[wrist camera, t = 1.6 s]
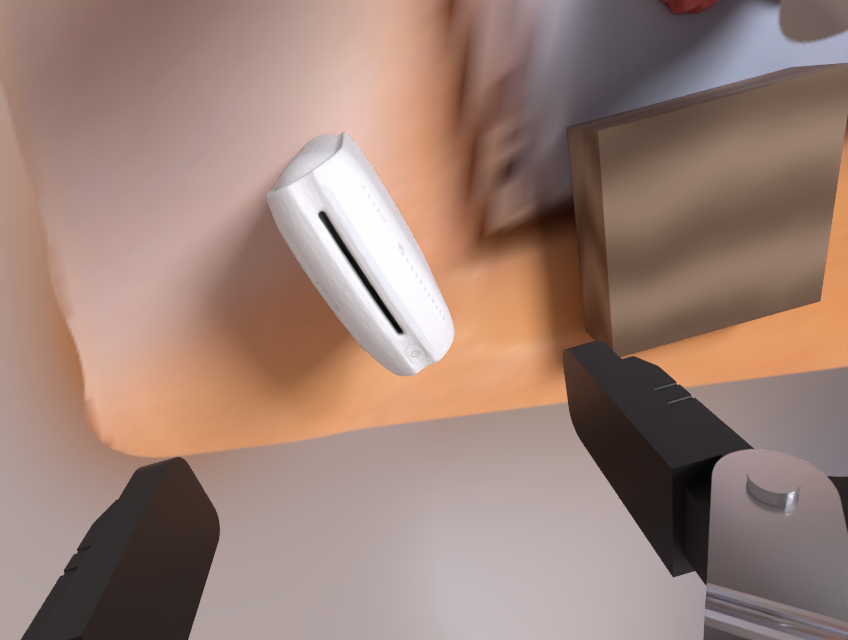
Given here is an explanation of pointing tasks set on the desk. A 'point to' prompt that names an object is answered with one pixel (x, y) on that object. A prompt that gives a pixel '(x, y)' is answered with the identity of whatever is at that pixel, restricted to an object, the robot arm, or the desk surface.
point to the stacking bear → (689, 5)
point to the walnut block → (708, 206)
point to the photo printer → (361, 254)
